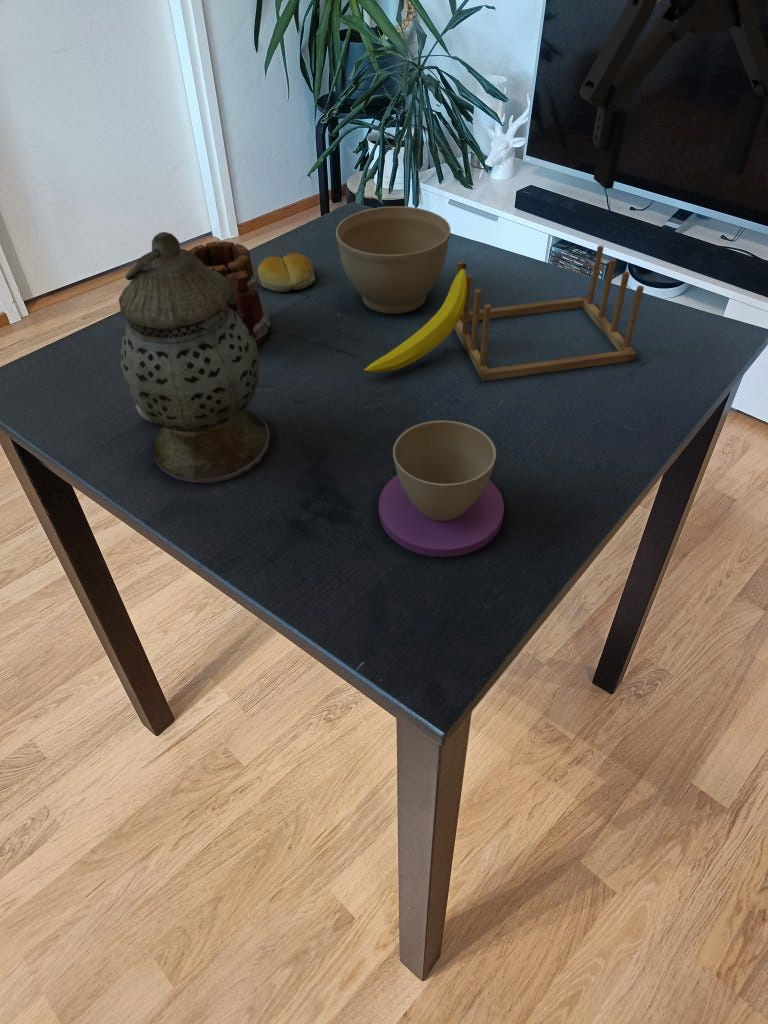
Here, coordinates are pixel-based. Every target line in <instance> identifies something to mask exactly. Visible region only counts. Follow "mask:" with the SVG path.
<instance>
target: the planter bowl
mask: <svg viewBox="0 0 768 1024" xmlns="http://www.w3.org/2000/svg"><path fill="white" fill-rule="evenodd" d="M450 238H451V226H450V223H449V222H448V221H447V219H445V217H443V216H442V215H440V214H438V213H435V212H432V211H430V210H426V209H423V208H419V207H415V206H414V207H413V206H402V205H401V206H400V205H399V206H396V205H394V206H393V205H392V206H391V205H389V206H380V207H375V208H373V207H372V208H369V209H365V210H362V211H358V212H356V213H353V214H351V215H348V216H347V217H345V218H344V219H342V220H341V221H340V222H339V223H338V224H337V226H336V229H335V239H336V242H337V245H338V250H339V252H338V253H339V256H340V261H341V264H342V267H343V269H344V273H345V274H346V276H347V279H348V280H349V281H350V283H351V284H352V286H353V287H354V289H355V290H356V291H357V292H358V293H359V294H360V296H361V298H362V302H363V303H364V305H365V306H366V307H368V308H369V309H371V310H372V311H375V312H379V313H384V314H393V315H396V314H404V313H408V312H412V311H415V310H416V309H418V308H420V307H421V306H422V305H424V303H425V302H426V299H427V294H428V293H430V291H431V290H432V289H433V288H434V286H435V284H436V283H437V281H438V279H439V278H440V275H441V273H442V270H443V269H444V266H445V263H446V258H447V254H448V247H449V241H450Z"/></svg>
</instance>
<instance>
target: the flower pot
mask: <svg viewBox="0 0 768 1024" xmlns="http://www.w3.org/2000/svg"><path fill="white" fill-rule="evenodd" d="M392 457H393V461H394V467H395V471H396V475H397V474H398V477H399V480H400V482H401V485H402V487H403V489H404V491H405V492H406V494H407V496H408V497H409V499H410V500H411V502H412V503H413V504H414V505H415V506H416V508H417V509H418V510H419V511H420V512H421V513H422V514H424V515H425V516H426V517H428V518H431V519H434V520H439V521H447V520H452V519H455V518H457V517H459V516H461V515H462V514H463V513H464V512H466V511H467V510H468V509H469V508H470V507H471V506H472V505H473V504H474V502H475V501H476V500H477V499H478V497H479V496H480V495H481V493H482V492H483V490H484V488H485V487H486V485H487V483H488V481H489V480H490V478H491V476H492V474H493V470H494V468H495V465H496V460H497V448H496V446H495V443H494V442H493V440H492V439H491V438H490V437H489V435H488V434H486V433H485V432H484V431H482V430H481V429H479V428H477V427H475V426H473V425H470V424H468V423H465V422H460V421H454V420H445V419H444V420H443V419H441V420H429V421H425V422H421V423H418V424H416V425H413V426H411V427H409V428H408V429H406V430H404V431H403V432H402V433H401V434H400V435H399V436H398V437H397V439H396V441H395V442H394V444H393V448H392Z"/></svg>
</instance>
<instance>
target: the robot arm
mask: <svg viewBox="0 0 768 1024" xmlns="http://www.w3.org/2000/svg"><path fill="white" fill-rule="evenodd" d="M661 1H662V0H628V1H627V2H626V4H625V6H624V8H623V9H622V12H621V13H620V15H619V17H618V19H617V20H616V22H615V24H614V26H613V28H612V30H611V31H610V33H609V35H608V37H607V39H606V41H605V43H604V44H603V46H602V48H601V50H600V51H599V53H598V55H597V56H596V58H595V61H594V62H593V65H592V67H591V68H590V69H589V72H588V73H587V75H586V77H585V79H584V81H583V82H582V85H581V86H580V89H579V95H580V97H581V98H582V99H584V100H585V101H587V102H588V103H590V104H591V105H593V106H596V108H597V112H596V118H595V123H594V129H593V135H592V143H593V146H594V147H596V148H597V149H598V152H597V157H596V162H595V169H594V174H593V181H595V182H597V183H598V184H599V185H600V186H602V187H603V189H605V190H607V189H608V190H609V189H613V188H614V184H615V180H616V174H617V169H618V165H619V159H620V154H621V150H622V144H623V139H624V133H625V130H626V124H627V120H628V115H629V111H627V110H625V109H624V108H622V106H623V105H624V103H626V101H627V100H628V99H629V98H630V96H631V95H632V94H633V93H634V92H635V91H636V90H637V89H638V87H639V86H640V85H641V83H643V81H644V80H645V79H646V78H647V76H648V75H650V73H651V72H652V71H653V70H654V68H655V67H656V66H657V64H658V63H659V62H660V61H661V60H662V59H663V58H664V57H665V55H666V54H667V53H668V52H669V50H671V48H672V47H673V46H674V45H675V44H676V43H678V42H680V41H682V40H683V39H684V38H685V37H686V36H687V34H688V33H689V34H692V35H703V34H706V33H708V32H711V31H714V32H717V33H728V32H730V35H731V37H732V39H733V42H734V45H735V47H736V49H737V52H738V55H739V57H740V60H741V63H742V64H743V67H744V70H745V72H746V75H747V77H748V79H749V83H750V84H751V87H752V90H753V91H743V92H742V94H741V97H740V101H739V104H738V107H737V109H736V114H735V117H734V120H733V124H732V127H731V130H730V134H729V137H728V140H727V143H726V147H725V151H724V155H723V158H722V162H721V165H720V166H721V167H722V168H724V169H726V170H727V171H729V172H730V173H732V174H733V175H735V176H739V175H740V176H741V175H744V173H745V170H746V167H747V163H748V161H749V157H750V154H751V152H752V148H753V145H754V141H755V139H756V135H760V134H761V133H762V132H763V130H764V129H765V126H766V124H767V123H766V122H767V120H768V47H767V45H766V42H765V39H764V37H763V34H762V30H761V28H760V25H761V20H760V17H759V14H758V12H757V9H756V6H755V3H754V1H755V0H668V1H669V2H668V4H667V5H666V6H665V7H664V8H663V10H662V11H661V12H660V13H659V14H658V16H657V17H656V18H655V19H654V21H653V23H652V24H653V26H652V28H651V29H650V30H649V31H648V32H647V34H646V35H645V36H644V38H643V39H642V40H641V41H640V43H638V45H637V46H636V47H635V49H633V48H634V46H635V45H636V43H637V41H638V39H639V38H640V36H641V35H642V32H643V31H644V29H645V28H646V25H647V24H648V23H649V20H650V19H651V16H652V15H653V12H654V10H655V8H656V5H657V4H659V3H660V2H661ZM766 14H767V16H768V0H766ZM632 50H633V51H632Z"/></svg>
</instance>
